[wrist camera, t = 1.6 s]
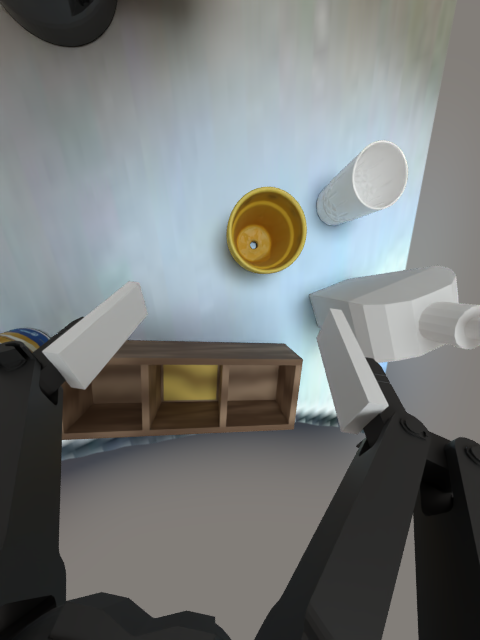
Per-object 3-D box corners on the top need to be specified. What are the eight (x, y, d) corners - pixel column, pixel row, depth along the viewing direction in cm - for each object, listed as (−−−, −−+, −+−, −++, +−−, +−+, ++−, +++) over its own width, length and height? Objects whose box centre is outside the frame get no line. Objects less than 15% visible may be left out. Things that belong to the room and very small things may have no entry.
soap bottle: (312, 341, 39) (489, 448, 14) (298, 294, 37) (480, 321, 12) (366, 318, 40) (628, 381, 15) (356, 271, 38) (645, 250, 12)
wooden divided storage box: (85, 339, 33) (46, 356, 25) (284, 343, 38) (302, 359, 31) (91, 406, 36) (57, 441, 28) (277, 402, 41) (293, 430, 33)
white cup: (310, 227, 35) (348, 206, 25) (315, 178, 33) (357, 135, 24) (350, 230, 36) (401, 212, 26) (357, 183, 34) (414, 144, 25)
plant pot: (277, 278, 36) (300, 278, 26) (220, 271, 34) (223, 268, 25) (285, 218, 34) (314, 193, 24) (226, 208, 32) (232, 177, 23)
